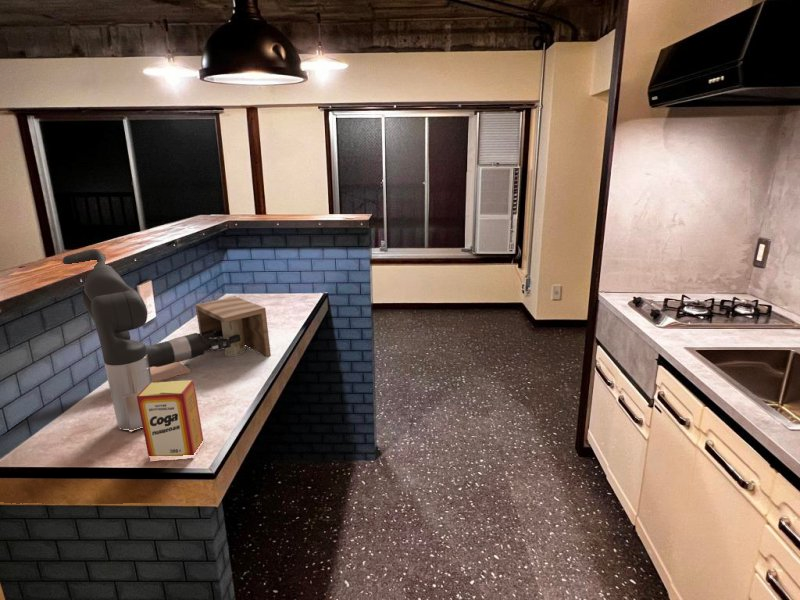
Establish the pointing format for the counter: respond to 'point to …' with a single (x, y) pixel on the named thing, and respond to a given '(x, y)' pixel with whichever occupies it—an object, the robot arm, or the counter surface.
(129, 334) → the robot arm
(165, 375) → the terracotta tile
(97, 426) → the counter surface
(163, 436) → the baking soda box
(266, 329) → the walnut shelf
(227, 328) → the skincare box
